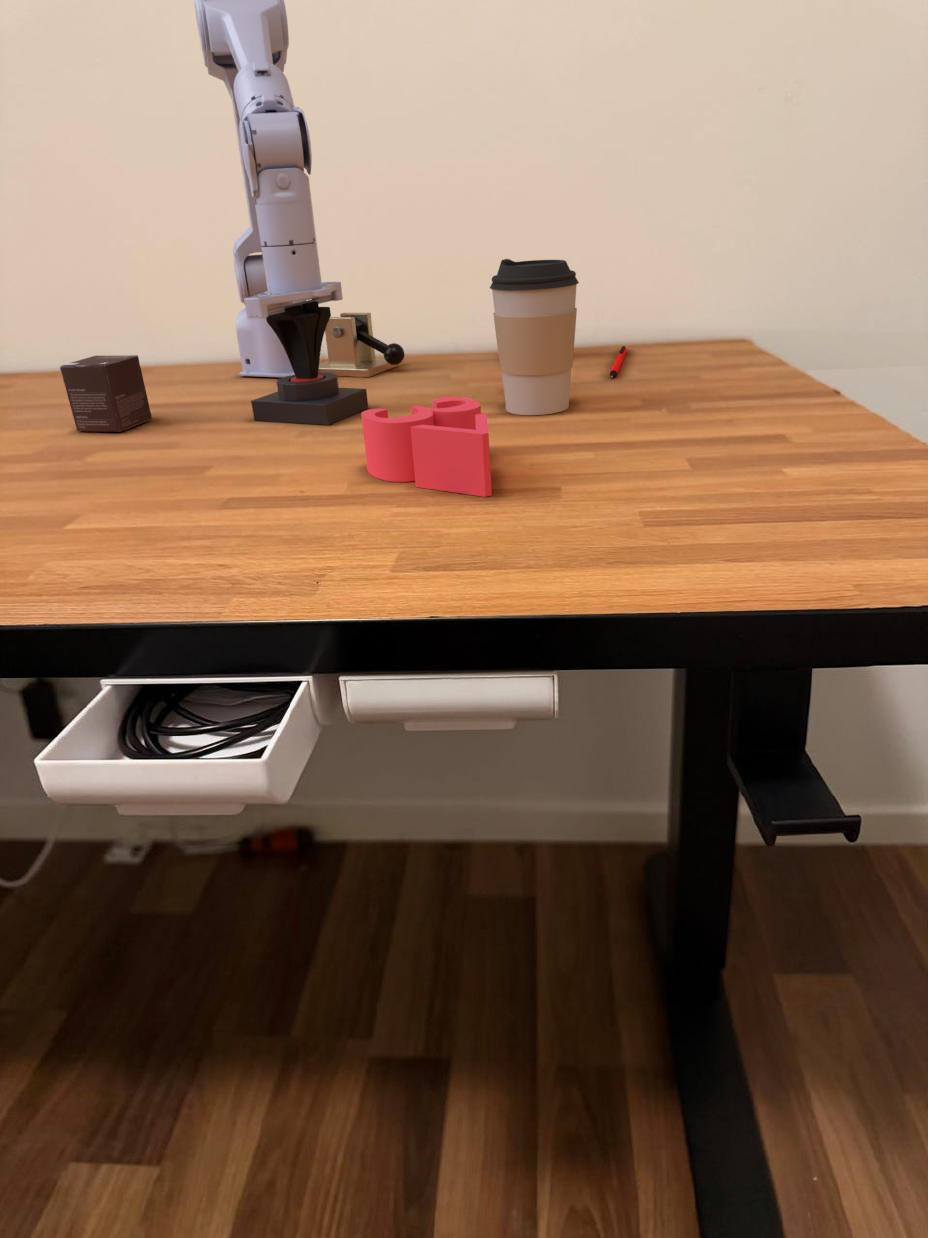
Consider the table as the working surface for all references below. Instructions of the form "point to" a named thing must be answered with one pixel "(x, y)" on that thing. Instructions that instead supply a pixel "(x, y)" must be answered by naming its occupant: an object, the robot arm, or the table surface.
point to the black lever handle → (380, 345)
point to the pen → (618, 362)
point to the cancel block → (310, 402)
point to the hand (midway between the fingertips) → (307, 377)
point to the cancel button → (307, 379)
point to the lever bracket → (351, 348)
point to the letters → (431, 446)
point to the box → (106, 393)
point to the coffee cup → (535, 333)
